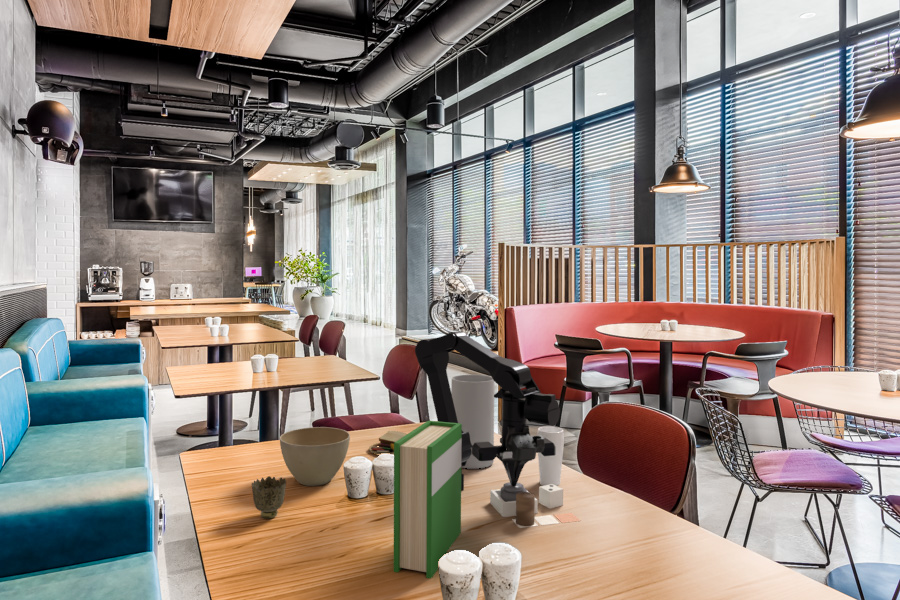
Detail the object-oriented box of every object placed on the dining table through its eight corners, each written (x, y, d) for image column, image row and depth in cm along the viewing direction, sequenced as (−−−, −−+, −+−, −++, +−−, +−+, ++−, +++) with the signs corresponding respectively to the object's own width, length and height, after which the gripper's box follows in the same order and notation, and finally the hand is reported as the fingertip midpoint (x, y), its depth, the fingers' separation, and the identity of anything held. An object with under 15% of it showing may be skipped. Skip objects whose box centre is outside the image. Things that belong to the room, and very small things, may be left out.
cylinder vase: (501, 461, 171) (501, 377, 170) (480, 472, 161) (481, 383, 160) (464, 453, 178) (465, 373, 177) (442, 464, 167) (443, 379, 166)
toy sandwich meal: (360, 452, 180) (360, 437, 179) (389, 442, 190) (389, 428, 190) (390, 460, 172) (390, 444, 172) (419, 449, 183) (419, 434, 183)
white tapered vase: (562, 491, 147) (563, 433, 146) (536, 489, 148) (536, 431, 148) (563, 482, 153) (564, 426, 153) (537, 480, 155) (538, 425, 154)
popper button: (505, 513, 130) (506, 491, 130) (496, 503, 136) (496, 482, 136) (530, 510, 132) (530, 489, 132) (520, 500, 138) (520, 480, 137)
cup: (292, 512, 133) (292, 478, 132) (273, 525, 126) (272, 489, 125) (265, 508, 135) (265, 474, 135) (244, 520, 128) (244, 484, 128)
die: (549, 509, 134) (550, 491, 134) (538, 503, 137) (539, 486, 137) (563, 505, 136) (563, 488, 136) (551, 500, 139) (552, 483, 139)
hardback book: (431, 578, 104) (432, 446, 103) (393, 571, 106) (394, 442, 105) (460, 537, 121) (461, 423, 120) (427, 532, 123) (428, 420, 122)
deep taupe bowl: (299, 499, 141) (299, 449, 140) (268, 479, 154) (268, 434, 154) (362, 482, 153) (362, 436, 152) (328, 465, 166) (328, 423, 166)
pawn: (520, 527, 123) (520, 499, 123) (513, 519, 127) (513, 492, 127) (537, 525, 124) (537, 497, 124) (530, 517, 128) (530, 491, 128)
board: (513, 535, 121) (514, 517, 121) (488, 506, 137) (488, 490, 137) (590, 526, 126) (591, 508, 126) (558, 499, 142) (558, 483, 142)
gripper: (487, 430, 123) (486, 502, 123) (567, 425, 128) (566, 494, 128) (471, 418, 134) (471, 484, 134) (545, 413, 139) (544, 477, 139)
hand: (513, 485), depth 134 cm, fingers closed, pressing on popper button
